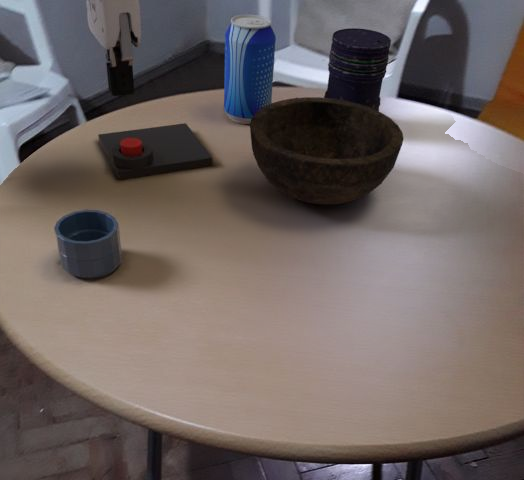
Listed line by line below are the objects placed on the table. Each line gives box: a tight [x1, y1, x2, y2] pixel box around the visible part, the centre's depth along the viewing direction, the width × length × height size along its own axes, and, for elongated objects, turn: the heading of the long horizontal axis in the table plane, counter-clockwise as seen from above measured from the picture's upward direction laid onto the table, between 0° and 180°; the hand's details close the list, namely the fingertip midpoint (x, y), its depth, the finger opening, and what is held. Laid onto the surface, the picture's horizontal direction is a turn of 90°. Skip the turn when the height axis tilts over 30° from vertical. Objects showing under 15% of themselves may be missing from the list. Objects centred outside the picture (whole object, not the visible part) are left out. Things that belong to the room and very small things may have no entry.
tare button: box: [120, 138, 142, 156], centre depth 95 cm, size 3×3×2 cm
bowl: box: [249, 96, 404, 205], centre depth 92 cm, size 22×22×10 cm
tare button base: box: [97, 123, 213, 181], centre depth 100 cm, size 15×13×3 cm
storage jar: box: [323, 27, 392, 112], centre depth 108 cm, size 10×10×15 cm
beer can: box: [223, 14, 277, 125], centre depth 108 cm, size 8×8×16 cm
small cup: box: [53, 209, 123, 280], centre depth 78 cm, size 7×7×6 cm
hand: (121, 92), depth 88 cm, fingers closed
